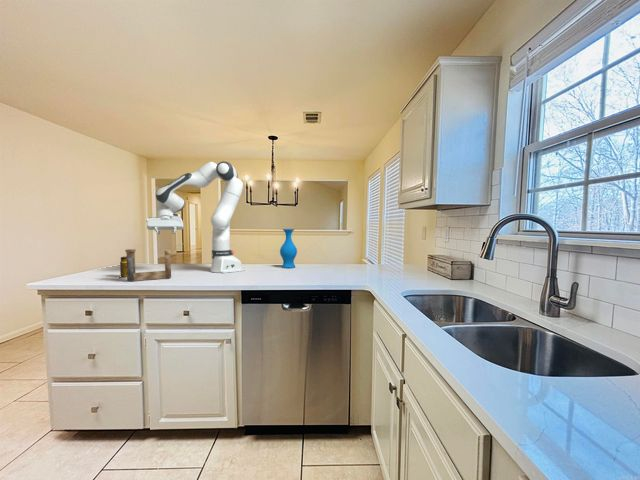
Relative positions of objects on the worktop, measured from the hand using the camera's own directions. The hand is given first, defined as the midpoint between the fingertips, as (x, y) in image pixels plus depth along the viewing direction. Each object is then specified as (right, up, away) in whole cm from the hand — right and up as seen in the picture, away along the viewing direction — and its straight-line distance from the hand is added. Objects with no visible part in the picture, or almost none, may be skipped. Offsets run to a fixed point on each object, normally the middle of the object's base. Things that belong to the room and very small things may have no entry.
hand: (166, 233), depth 175 cm
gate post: (-10, -27, -17) cm, 33 cm away
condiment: (-21, -26, -7) cm, 34 cm away
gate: (0, -26, -15) cm, 30 cm away
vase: (+72, -24, +33) cm, 83 cm away
